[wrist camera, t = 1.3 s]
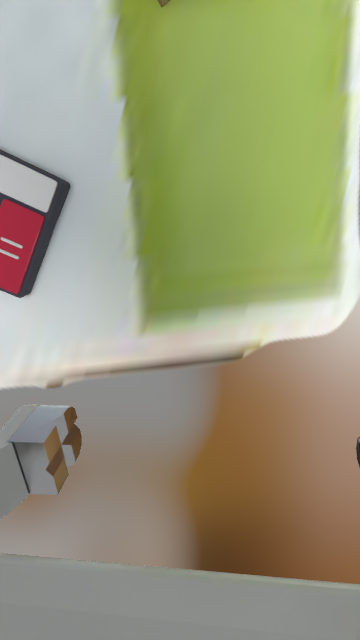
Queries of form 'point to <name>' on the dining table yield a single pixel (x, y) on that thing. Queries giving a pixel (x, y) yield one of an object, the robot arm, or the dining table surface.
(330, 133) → the dining table surface
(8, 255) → the calculator
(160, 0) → the board
